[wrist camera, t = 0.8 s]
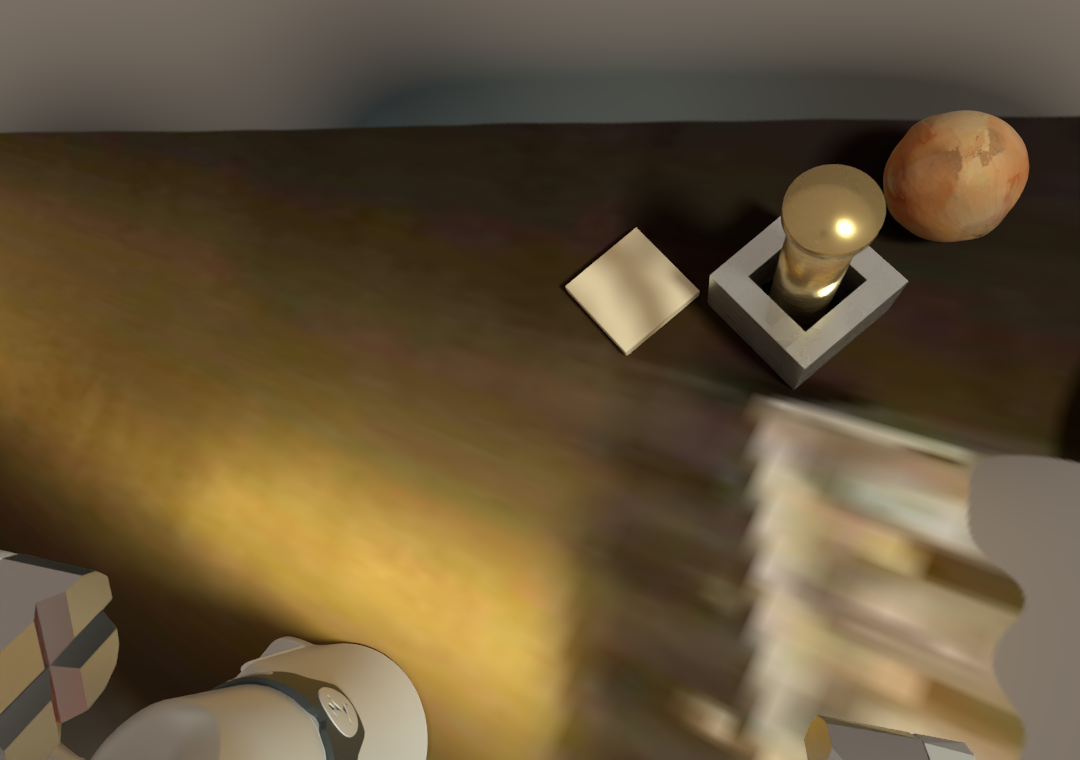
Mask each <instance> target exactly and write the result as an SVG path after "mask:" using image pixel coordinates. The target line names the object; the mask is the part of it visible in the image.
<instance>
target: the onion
mask: <svg viewBox="0 0 1080 760" xmlns="http://www.w3.org/2000/svg"><path fill="white" fill-rule="evenodd" d="M1028 172H1029V161H1028V154H1027V149H1026V147H1025V144H1024V142H1023V141H1022V139H1021V137H1020V136H1019V135H1018V133H1017V132H1016V131H1015V130H1014V129H1013V128H1012V127H1011V126H1010V125H1009V124H1007V123H1006V122H1004V121H1003V120H1001V119H999V118H997V117H995V116H992V115H990V114H986V113H982V112H977V111H969V110H967V111H955V112H949V113H945V114H940V115H933V116H931V117H928V118H926V119H924V120H921V121H919V122H918V123H916V124H915V125H914V126H912V127H911V128H910V129H909V131H908V132H907V133H906V135H905V136H904V138H903V139H902V140H901V141H900V142H899V143H898V145H897V146H896V147H895V149H894V150H893V152H892V154H891V155H890V157H889V159H888V161H887V163H886V166H885V169H884V178H883V188H884V196H885V200H886V204H887V207H888V210H889V212H890V214H891V215H892V216H893V218H894V219H895V220H896V221H897V222H898V223H900V224H901V225H902V226H903V227H904V228H906V229H907V230H909V231H910V232H911V233H913V234H915V235H916V236H918V237H921V238H923V239H927V240H930V241H935V242H956V241H963V240H970V239H975V238H980V237H982V236H984V235H986V234H987V233H989V232H991V231H992V230H993V229H994V228H995V227H996V226H997V225H998V224H999V223H1000V222H1001V221H1002V220H1003V218H1004V217H1005V216H1006V214H1007V213H1008V212H1009V211H1010V210H1011V209H1012V208H1013V206H1014V204H1015V203H1016V201H1017V200H1018V198H1019V197H1020V195H1021V193H1022V191H1023V189H1024V187H1025V184H1026V181H1027V179H1028Z"/></svg>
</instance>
